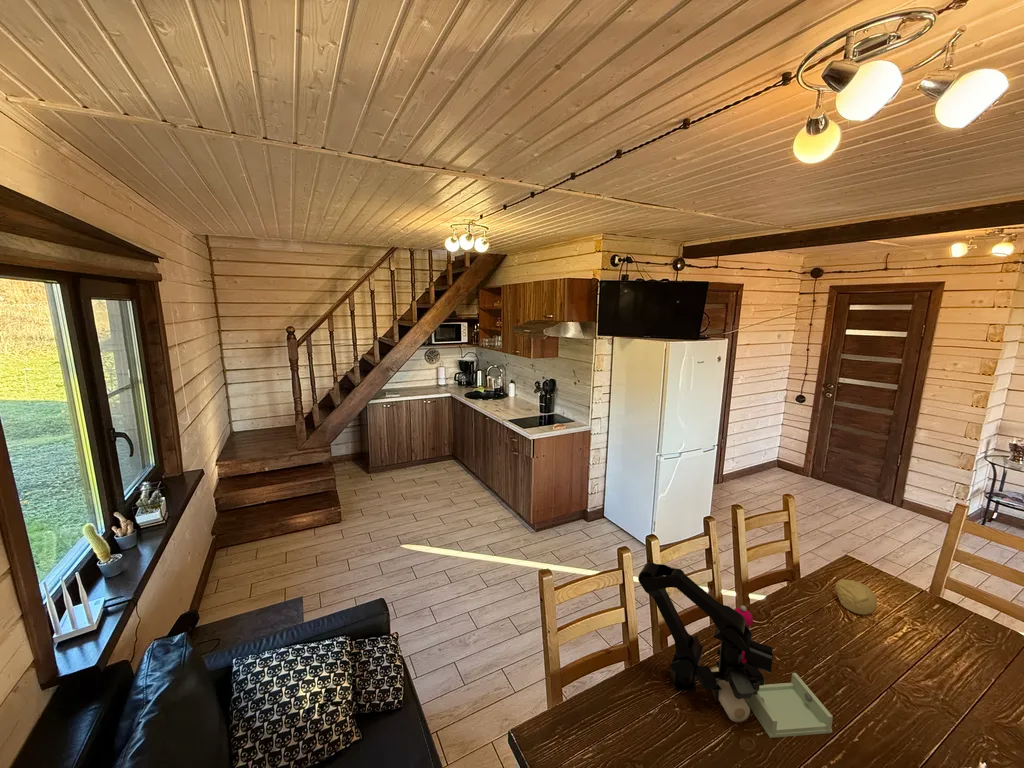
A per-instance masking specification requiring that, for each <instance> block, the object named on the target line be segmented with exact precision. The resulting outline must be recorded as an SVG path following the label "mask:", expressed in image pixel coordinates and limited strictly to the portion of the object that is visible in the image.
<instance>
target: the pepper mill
mask: <svg viewBox="0 0 1024 768" xmlns="http://www.w3.org/2000/svg"><path fill="white" fill-rule="evenodd" d="M733 609H734V608H733ZM734 610H735V611H737V612H738V613H740V614H741V615H742V616H743V617H744V619H745V623H746V625H747V627H748V628H749V630H750V631H751V626H752V625H753V623H754V622H753V621H754V619H753V615H752V613H751V612H750V611H749V610H748V609H747V607H746V606H745V605H740V606H739V607H736V608H735V609H734ZM744 656H745V651H742V662H743V663H746V659H744Z"/></svg>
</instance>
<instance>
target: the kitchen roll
mask: <svg viewBox="0 0 1024 768" xmlns="http://www.w3.org/2000/svg"><path fill="white" fill-rule="evenodd" d="M710 670H711V671H712V672H717V671H719V668H718V667H717V666H716V667H713V668H710ZM719 686H720V688H721V689H722V690H719V698H718V702H719V703H720V704H721V706H722V708H723V709H724V711H725V713H726V716H728V719H730V720H731V722H732V721H733V722H734V723H741V722H744V721H745V720H747V718H749V716H750V714H751V708H750V707H749V705H748V704H747V702H746V701H745V699H737V698H736V697H735V696H734V694H733V691H732V689H731V686H730V684H729V682H725V681H719Z"/></svg>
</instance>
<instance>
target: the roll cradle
mask: <svg viewBox="0 0 1024 768" xmlns="http://www.w3.org/2000/svg"><path fill="white" fill-rule="evenodd" d="M790 680H791V681H790V682H784V683H781V682H780V683H771V684H770V683H769V684H764V685H762V686H759V691H757V692H758V694H756V695H752V696H751V698H744V700H745V702H746V703H747V705H748V706H749V708H750V711H752V713H753V714H754V716H755V717H756V719H757V721H758V722H759V723H760V725H761V726H762V728H763V729H764V731H765V733H766V734H767V735H768V738H769V739H772V738H775V739H776V738H785V737H786V738H787V737H797V736H799V737H800V736H810V735H821V734H822V735H823V734H832V733H833V729H832V725H833V719H834V716H833V715H832V713H830V711H829V710H828V708H826V706H824V704H823V702H821V700H819V698H818V697H817V696H816V694H814V692H813V691H812V690H811V689H810V688H809V687H808V686H807V684H806V683H805V682H804V681H803V679H802V678H801V677H800V676H799V675H798V673H797V672H792V673H791V679H790Z"/></svg>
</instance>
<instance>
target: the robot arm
mask: <svg viewBox="0 0 1024 768" xmlns="http://www.w3.org/2000/svg"><path fill="white" fill-rule="evenodd" d="M637 580H638V583H639V584H640V586H641V588H642V589H643V590H644V592H645V593H647V594H648V595H649V596H651V597H652V598H653V600H654V603H655V604H656V607H657V609H658V610H659V613H660V614H661V616H662V619H663V621H664V623H665V625H666V627H667V628H668V631H669V632H670V635H671V637H672V638H673V642H674V647H675V650H674V651H675V652H674V654H673V657H672V660H671V662H670V671H668V674H667V675H668V676H669V678H670V680H671V682H672V684H673V686H674V688H675V690H676V691H690V690H697V685H696V679H697V681H698V683H699V684H700V687H702V689H703V690H705V691H707V690H711V691H712V695H713V697H714V699H715V701H716V702H719V699H718V698H719V690H722V689H721V688H720V686H719V681H725V682H729V684H730V686H731V689H732V691H733V694H734V696H735V697H736V698H737V699H744V698H751V696H752V695H756V694H758V692H757V691H759V686H762V685H765V682H766V681H765V680H766V679H765V675H764V673H762V671H764V672H767V673H769V674H772V667H773V658H774V654H773V650H774V649H773V646H770V645H767V644H766V645H765V644H763V643H760V642H757V641H755V640H753V639H752V637H753V633H752V631H751V629H750V630H749V628H748V627H747V625H746V623H745V619H744V617H743V616H742V615H741V614H740V613H738V612H737V611H735V610H734V608H732V607H731V606H728V605H726V604H722V603H721V602H720V601H717V600H716V599H715V598H714V597H713V596H712V595H710V594H709V593H708V592H707V591H706V590H704V589H703V588H702V587H701V586H700V585H698V584H697V583H696V582H695V581H693V580H692V579H691V578H690V577H689V576H688V575H686V573H685V572H684V570H682V569H681V568H675V567H674V568H673V567H671V566H668V565H666V564H663V563H662V564H660V563H655V562H650V561H649V562H647V563H645V564H644V566H643V568H642V569H641V571H640V573H639V574H638V577H637ZM667 588H675V589H677V590H678V592H679V591H680V592H681V593H682V594H683V596H685V597H686V598H687V599H689V600H690V601H691V602H692V603H693V604H695V605H696V606H697V607H698V608H699V609H700V610H701V611H702V612H704V613H705V614H706V615H707V616H708V617H709V618H710V619H711V621H712V622H713V624H714V625H715V627H716V628H715V631H714V634H713V638H715V639H716V640H719V641H720V647H719V648H720V649H717V650H716V651H717V652H716V653H717V655H718V656H719V659H718V661H716V668H717V667H718V668H719V671H717V672H712V671H711V668H710V667H709V665H700V662H701V660H702V656H703V653H704V652H703V649H704V647H703V645H702V644H701V643H700V640H699V637H698V636H697V635H695V636H693V635H691V634H690V633H689V632H688V630H687V629H686V626H685V624H684V622H683V621H682V619H681V617H680V614H679V613H678V611H677V609H676V607H675V605H674V603H673V601H672V599H671V597H670V596H669V593H668V592H667ZM742 651H745V656H744V659H746V663H743V662H742ZM744 700H745V699H744Z"/></svg>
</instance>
